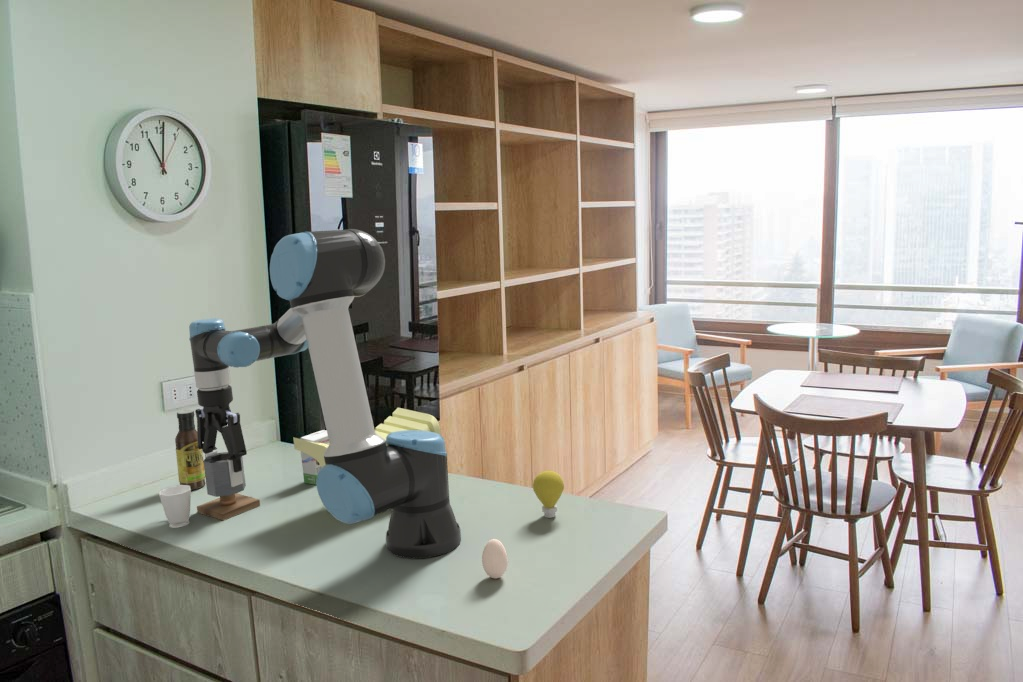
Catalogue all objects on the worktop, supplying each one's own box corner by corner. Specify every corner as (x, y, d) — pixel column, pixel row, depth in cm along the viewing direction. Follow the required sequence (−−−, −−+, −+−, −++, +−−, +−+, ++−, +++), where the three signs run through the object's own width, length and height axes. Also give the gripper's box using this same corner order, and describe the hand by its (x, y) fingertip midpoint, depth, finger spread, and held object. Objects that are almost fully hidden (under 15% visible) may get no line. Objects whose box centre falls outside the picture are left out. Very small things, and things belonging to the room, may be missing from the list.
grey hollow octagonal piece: (251, 487, 188) (248, 454, 186) (222, 498, 181) (218, 464, 180) (231, 481, 192) (227, 450, 191) (201, 492, 186) (197, 459, 185)
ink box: (316, 485, 200) (312, 440, 198) (303, 482, 203) (298, 438, 201) (341, 475, 207) (337, 431, 205) (327, 472, 210) (323, 429, 208)
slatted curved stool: (341, 528, 173) (333, 449, 169) (301, 511, 183) (293, 437, 180) (445, 487, 194) (439, 416, 191) (403, 474, 205) (397, 407, 202)
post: (260, 505, 189) (255, 463, 187) (223, 520, 181) (217, 476, 179) (234, 498, 194) (229, 457, 193) (197, 512, 186) (191, 469, 185)
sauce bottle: (190, 493, 200) (180, 416, 197) (175, 489, 203) (164, 413, 200) (212, 484, 205) (202, 409, 202) (196, 481, 209) (186, 407, 205)
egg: (478, 580, 145) (475, 542, 144) (492, 569, 149) (489, 532, 148) (499, 585, 143) (497, 546, 141) (513, 574, 147) (511, 536, 145)
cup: (170, 532, 175) (166, 498, 174) (151, 522, 182) (146, 488, 181) (201, 522, 180) (197, 488, 179) (181, 512, 187) (177, 479, 186)
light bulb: (571, 514, 173) (569, 470, 171) (551, 524, 168) (549, 478, 167) (548, 507, 178) (545, 464, 176) (528, 517, 173) (525, 472, 171)
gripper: (256, 387, 179) (267, 483, 183) (201, 379, 192) (213, 470, 195) (227, 394, 173) (239, 494, 177) (173, 386, 186) (185, 479, 189)
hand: (225, 481), depth 186 cm, fingers closed on grey hollow octagonal piece, 8 cm apart
